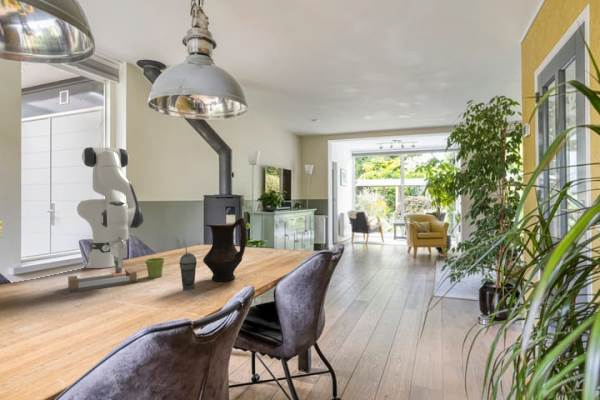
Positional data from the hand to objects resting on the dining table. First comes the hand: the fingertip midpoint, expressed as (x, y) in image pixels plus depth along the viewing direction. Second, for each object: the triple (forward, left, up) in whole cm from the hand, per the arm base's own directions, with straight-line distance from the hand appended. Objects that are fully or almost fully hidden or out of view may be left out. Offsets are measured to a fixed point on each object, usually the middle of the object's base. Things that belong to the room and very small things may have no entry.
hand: (118, 266), depth 160 cm
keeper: (0, 0, -6) cm, 6 cm away
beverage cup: (+32, +22, -8) cm, 39 cm away
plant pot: (-2, +17, -8) cm, 19 cm away
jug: (+26, +42, -8) cm, 50 cm away
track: (0, -6, -8) cm, 10 cm away
